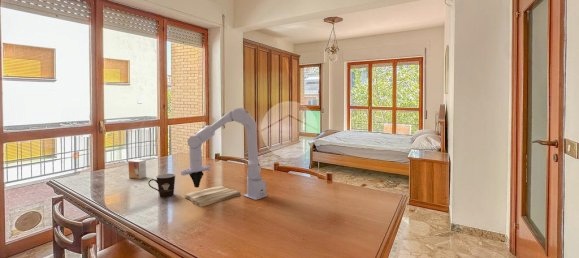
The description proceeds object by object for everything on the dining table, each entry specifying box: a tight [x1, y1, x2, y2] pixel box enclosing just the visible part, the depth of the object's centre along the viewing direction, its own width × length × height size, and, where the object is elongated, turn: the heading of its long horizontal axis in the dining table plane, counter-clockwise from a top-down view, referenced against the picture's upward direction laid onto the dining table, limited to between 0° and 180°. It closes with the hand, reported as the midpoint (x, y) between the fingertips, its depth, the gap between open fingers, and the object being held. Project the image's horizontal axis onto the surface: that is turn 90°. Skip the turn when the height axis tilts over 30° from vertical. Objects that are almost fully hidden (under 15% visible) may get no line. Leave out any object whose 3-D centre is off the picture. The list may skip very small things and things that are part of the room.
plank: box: [184, 185, 230, 202], centre depth 146 cm, size 8×20×2 cm, turn 137°
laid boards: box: [192, 188, 242, 208], centre depth 140 cm, size 7×22×2 cm, turn 137°
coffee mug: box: [147, 173, 176, 198], centre depth 145 cm, size 12×9×10 cm
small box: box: [128, 159, 147, 180], centre depth 179 cm, size 8×6×10 cm
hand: (196, 187), depth 144 cm, fingers closed
